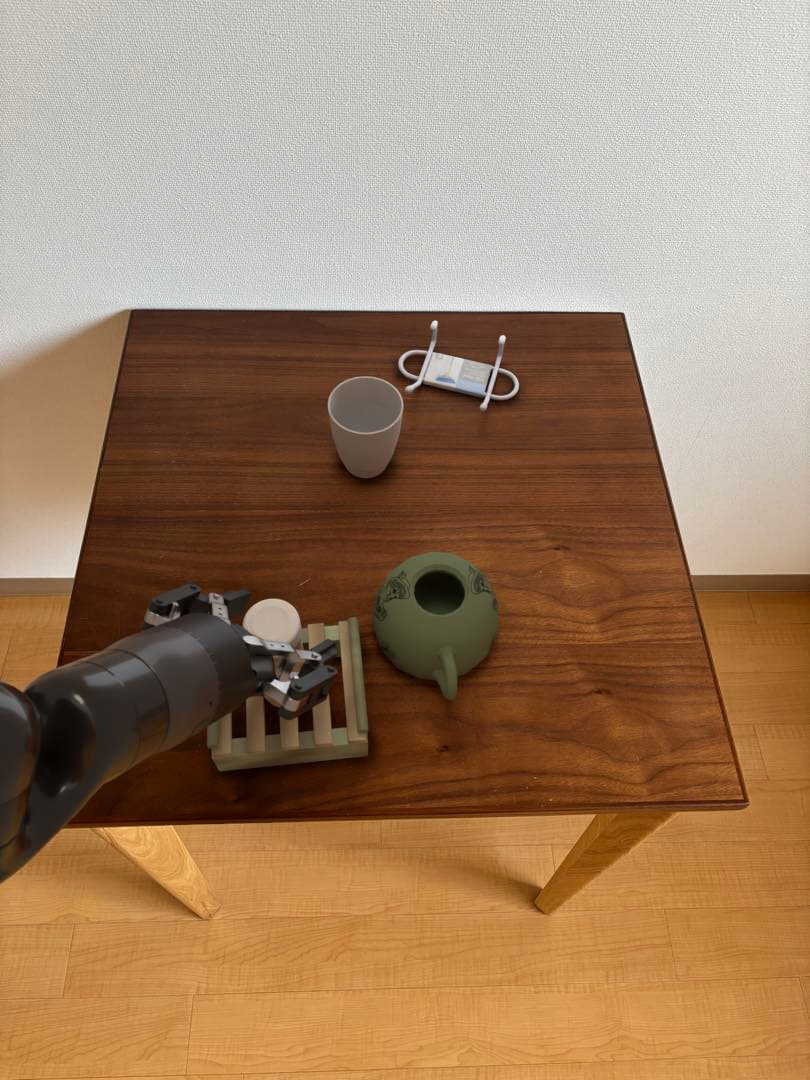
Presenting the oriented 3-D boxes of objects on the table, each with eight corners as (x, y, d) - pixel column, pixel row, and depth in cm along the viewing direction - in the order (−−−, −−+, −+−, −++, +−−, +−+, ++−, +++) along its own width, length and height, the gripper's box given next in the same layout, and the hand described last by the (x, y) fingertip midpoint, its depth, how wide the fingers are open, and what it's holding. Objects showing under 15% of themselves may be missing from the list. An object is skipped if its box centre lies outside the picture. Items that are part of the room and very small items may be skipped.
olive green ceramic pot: (365, 580, 87) (365, 538, 80) (484, 570, 89) (494, 527, 81) (381, 724, 79) (382, 691, 72) (511, 710, 80) (526, 677, 73)
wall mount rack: (524, 365, 105) (532, 332, 100) (504, 445, 98) (511, 413, 93) (407, 340, 107) (409, 305, 102) (379, 416, 100) (379, 383, 95)
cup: (367, 423, 99) (367, 365, 90) (414, 462, 96) (419, 406, 88) (317, 459, 96) (312, 402, 87) (364, 501, 93) (363, 446, 84)
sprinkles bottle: (320, 686, 76) (311, 623, 64) (282, 719, 74) (266, 660, 62) (289, 653, 77) (274, 586, 66) (251, 685, 76) (229, 621, 64)
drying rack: (217, 771, 76) (206, 750, 71) (218, 653, 82) (207, 625, 77) (369, 756, 77) (369, 733, 72) (358, 641, 84) (357, 612, 78)
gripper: (276, 691, 50) (375, 628, 65) (100, 581, 53) (232, 546, 69) (235, 788, 52) (340, 705, 67) (68, 676, 56) (203, 622, 71)
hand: (286, 625), depth 68 cm, fingers open, 8 cm apart
